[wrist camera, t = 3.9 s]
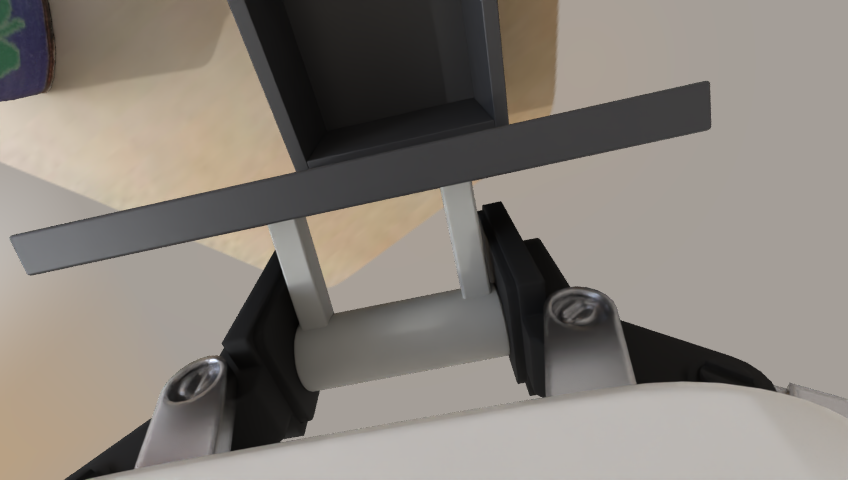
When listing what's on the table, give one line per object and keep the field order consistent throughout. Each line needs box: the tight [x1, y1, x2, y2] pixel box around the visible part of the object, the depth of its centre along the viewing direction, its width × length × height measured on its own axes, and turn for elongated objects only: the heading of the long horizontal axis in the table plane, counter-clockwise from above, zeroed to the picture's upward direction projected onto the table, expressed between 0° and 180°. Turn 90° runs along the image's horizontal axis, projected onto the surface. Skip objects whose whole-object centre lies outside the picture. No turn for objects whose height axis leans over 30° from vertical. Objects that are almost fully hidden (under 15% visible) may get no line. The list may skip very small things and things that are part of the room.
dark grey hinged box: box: [227, 0, 509, 172], centre depth 22 cm, size 15×13×8 cm
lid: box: [10, 81, 711, 392], centre depth 15 cm, size 15×13×5 cm
